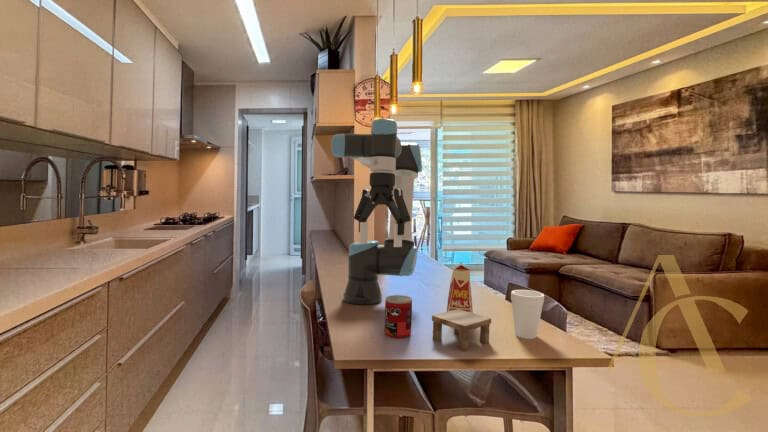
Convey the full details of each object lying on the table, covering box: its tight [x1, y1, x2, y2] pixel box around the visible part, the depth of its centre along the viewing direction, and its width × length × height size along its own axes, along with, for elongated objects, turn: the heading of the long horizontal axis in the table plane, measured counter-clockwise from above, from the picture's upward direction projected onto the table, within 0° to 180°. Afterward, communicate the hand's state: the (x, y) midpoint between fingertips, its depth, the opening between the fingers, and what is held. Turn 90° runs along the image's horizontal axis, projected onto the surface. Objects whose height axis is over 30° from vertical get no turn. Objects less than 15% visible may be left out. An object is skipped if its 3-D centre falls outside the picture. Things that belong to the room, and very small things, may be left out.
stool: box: [431, 309, 492, 352], centre depth 120 cm, size 12×12×7 cm
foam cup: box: [510, 289, 545, 340], centre depth 126 cm, size 10×9×13 cm
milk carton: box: [446, 261, 474, 313], centre depth 143 cm, size 9×9×20 cm
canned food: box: [384, 294, 413, 339], centre depth 124 cm, size 8×8×11 cm
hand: (379, 245), depth 121 cm, fingers open, 13 cm apart
